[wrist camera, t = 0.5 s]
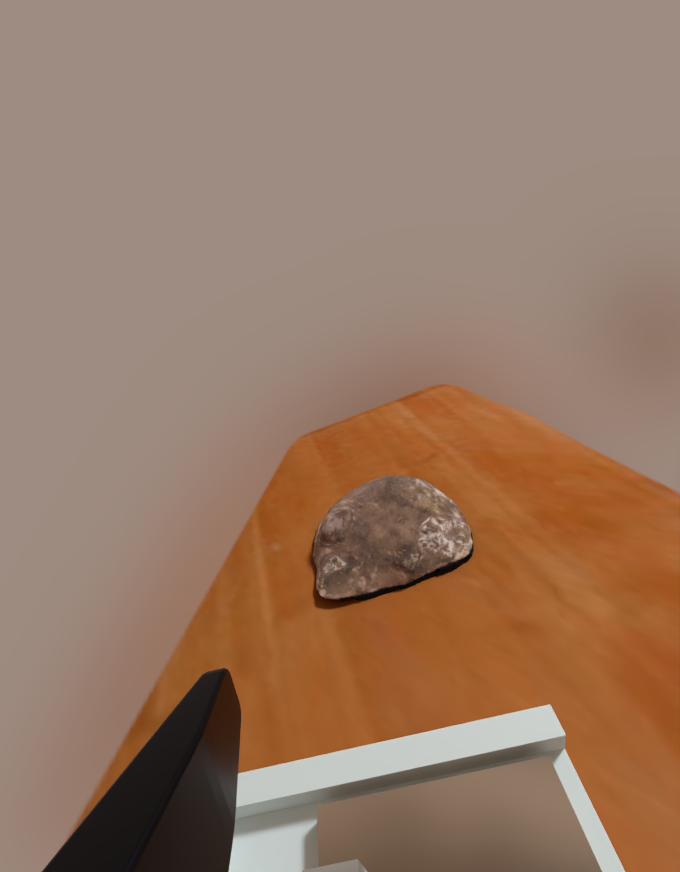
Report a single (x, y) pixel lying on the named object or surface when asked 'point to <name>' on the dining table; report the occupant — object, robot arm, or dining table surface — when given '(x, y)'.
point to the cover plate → (459, 826)
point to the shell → (388, 539)
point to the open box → (394, 785)
